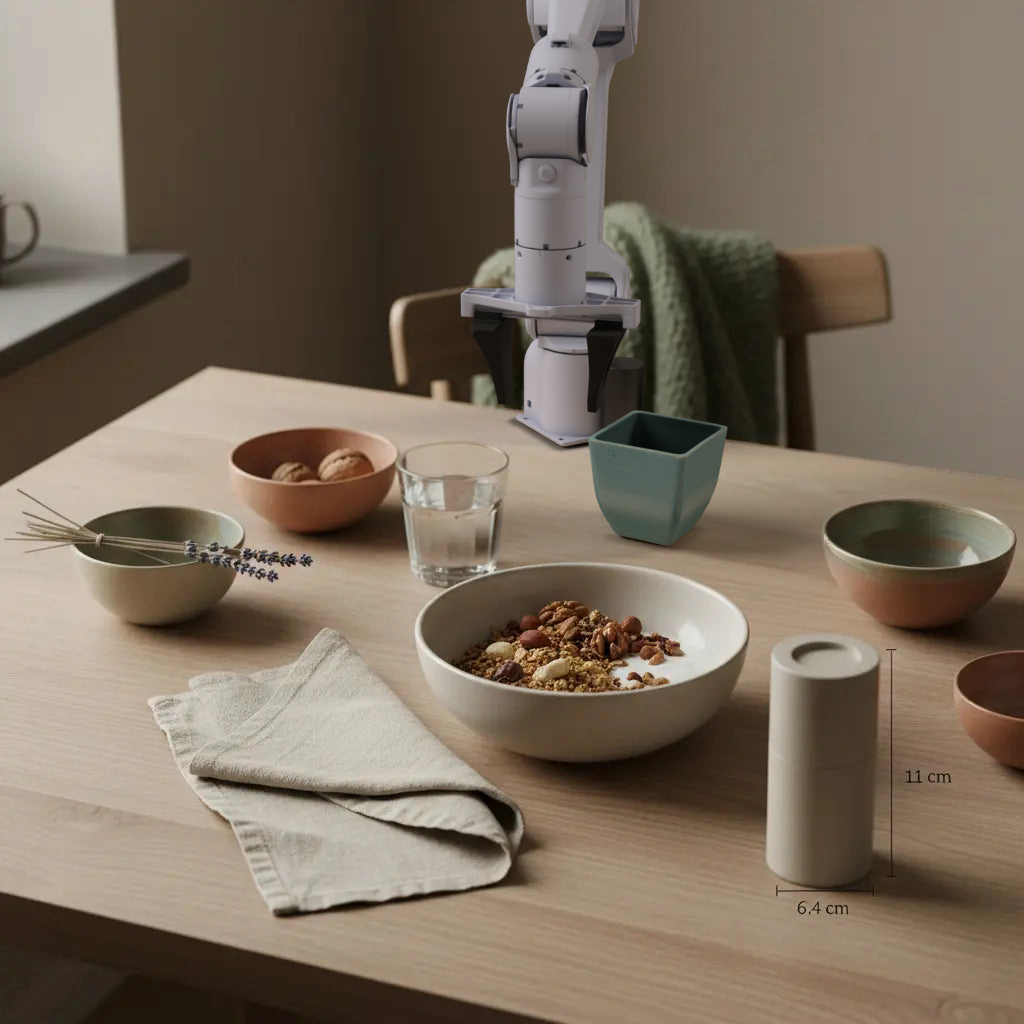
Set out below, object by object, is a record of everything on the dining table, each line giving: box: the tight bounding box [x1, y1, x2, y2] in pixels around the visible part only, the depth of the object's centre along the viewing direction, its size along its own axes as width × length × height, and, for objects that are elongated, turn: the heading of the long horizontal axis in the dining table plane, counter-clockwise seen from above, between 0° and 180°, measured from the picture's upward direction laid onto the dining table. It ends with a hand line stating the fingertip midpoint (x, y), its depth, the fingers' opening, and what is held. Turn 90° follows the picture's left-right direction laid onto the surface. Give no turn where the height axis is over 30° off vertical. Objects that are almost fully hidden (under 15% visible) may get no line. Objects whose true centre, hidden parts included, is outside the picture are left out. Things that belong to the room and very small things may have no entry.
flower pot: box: [588, 410, 728, 546], centre depth 125 cm, size 9×9×9 cm
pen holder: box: [600, 356, 645, 430], centre depth 146 cm, size 4×4×8 cm
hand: (549, 405), depth 125 cm, fingers open, 7 cm apart
